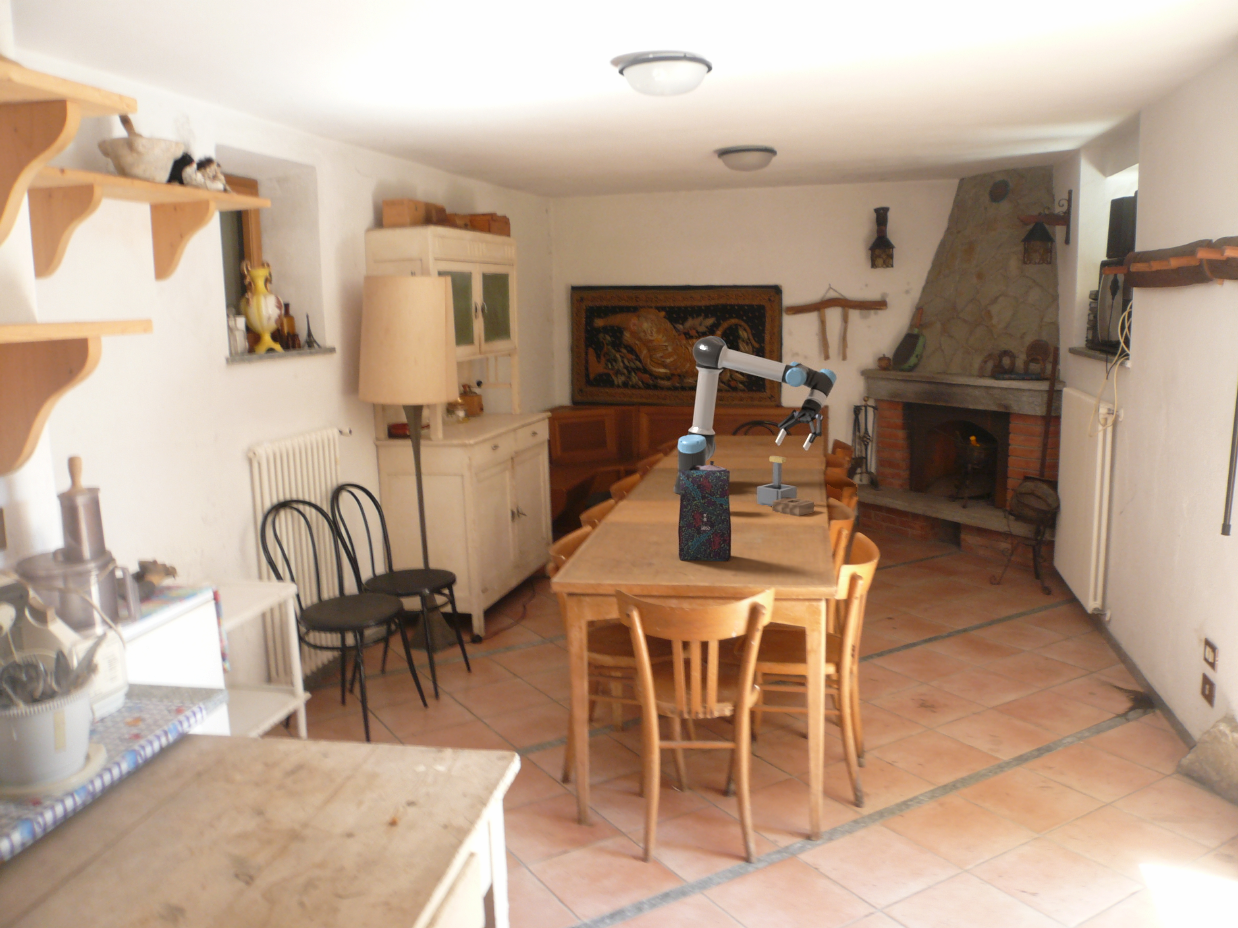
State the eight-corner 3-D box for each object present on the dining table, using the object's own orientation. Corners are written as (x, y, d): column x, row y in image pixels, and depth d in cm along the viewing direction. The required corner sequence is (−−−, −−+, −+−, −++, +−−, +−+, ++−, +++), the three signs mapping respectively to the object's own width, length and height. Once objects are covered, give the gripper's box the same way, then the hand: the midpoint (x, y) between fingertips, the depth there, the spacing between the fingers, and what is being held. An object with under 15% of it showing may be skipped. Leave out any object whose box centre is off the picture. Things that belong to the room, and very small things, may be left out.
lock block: (772, 511, 367) (772, 501, 366) (787, 507, 374) (788, 497, 373) (798, 516, 358) (798, 505, 358) (813, 511, 365) (814, 501, 365)
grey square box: (756, 504, 379) (756, 487, 378) (773, 499, 387) (773, 482, 386) (779, 508, 371) (780, 490, 370) (797, 504, 379) (797, 486, 378)
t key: (768, 501, 380) (769, 456, 377) (772, 500, 382) (773, 455, 379) (781, 503, 376) (782, 458, 373) (784, 502, 378) (785, 457, 375)
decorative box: (679, 553, 308) (679, 467, 303) (730, 554, 306) (731, 468, 301) (678, 560, 300) (678, 472, 295) (730, 561, 298) (731, 473, 293)
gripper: (843, 412, 384) (820, 456, 378) (792, 405, 401) (770, 446, 395) (836, 401, 379) (813, 445, 373) (784, 394, 397) (762, 436, 391)
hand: (791, 446), depth 384 cm, fingers open, 13 cm apart
